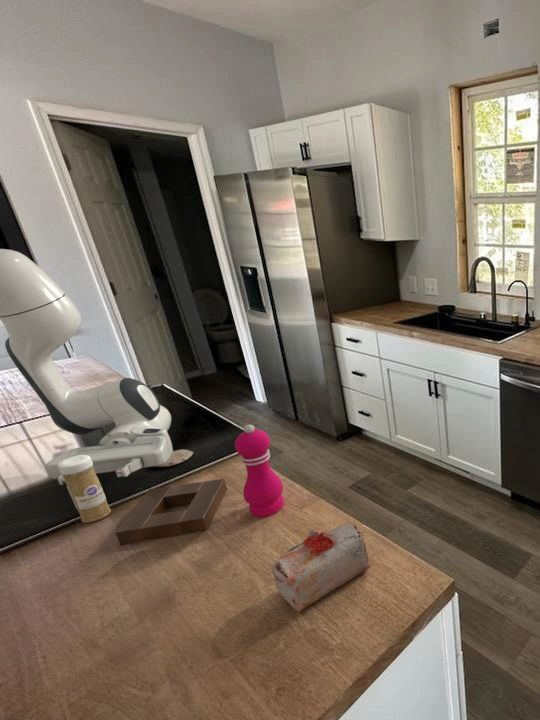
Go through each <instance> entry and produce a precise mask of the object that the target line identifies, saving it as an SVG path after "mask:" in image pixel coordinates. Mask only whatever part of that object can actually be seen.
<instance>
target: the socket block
mask: <svg viewBox="0 0 540 720" xmlns="http://www.w3.org/2000/svg"><path fill="white" fill-rule="evenodd" d="M227 492H228V487H227V482H226V479H225V478H219V479H212V480H206V481H205V480H204V481H199V482H198V481H197V482H191V483H185V484H178V485H172V486H170V485H169V486H164V487H157V488H149V489H148V491H147V492H146V493H145V494H144V496H143V497H142V498H141V500H140V501H139V502H138V503H137V504H136V505H135V507H134V508H133V510H132V511H131V512H130V513H129V515H128V516H127V517H126V518H125V520H123V522H122V523H121V525H120V526H119V527H118V528H117V530H116V531H115V536H116V538H117V541H118V543H119V545H120V546H124V545H130V544H136V543H141V542H147V541H152V540H156V539H163V538H164V539H165V538H170V537H176V536H181V535H187V534H192V533H198V532H205V531H208V529H209V527H210V525H211V523H212V521H213V519H214V517H215V515H216V513H217V511H218V509H219V507H220V506H221V503H222V502H223V499H224V497H225V495H226V494H227ZM186 506H187V508H186V509H181V510H174V511H169V512H167V510H168V509H172V508H173V509H174V508H179V507H186Z"/></svg>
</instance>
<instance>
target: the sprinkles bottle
mask: <svg viewBox="0 0 540 720" xmlns="http://www.w3.org/2000/svg"><path fill="white" fill-rule="evenodd" d="M58 469H59V471H60V473H61V474H62V476H63V477H64V480H65V482H66V484H65V485H66V488H67V490H68V493H69V495H70V497H71V501H73V504H74V506H75V508H76V510H77V512H78V513H79V516H80V522H83V524H89V523H94V522H95V523H96V522H98V521H101V520H103V519H104V518H106V517H108V516H109V515H110V514H111V512H112V509H111V508H110V506H109V505H110V504H109V503H108V501H107V497H106V494H105V492H104V489H103V487H102V484H101V482H100V480H99V478H98V476H97V474H96V473H95V471H94V468H93V462H92V460H91V458H90V456H87V455H79V456H74V457H70V458H68V459H65V460H63V461H61V462H60V463H59V464H58Z"/></svg>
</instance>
